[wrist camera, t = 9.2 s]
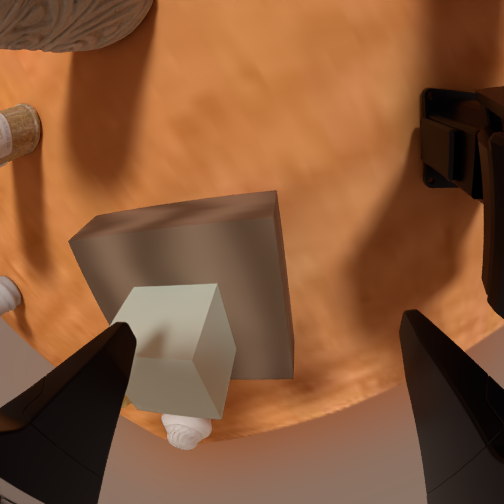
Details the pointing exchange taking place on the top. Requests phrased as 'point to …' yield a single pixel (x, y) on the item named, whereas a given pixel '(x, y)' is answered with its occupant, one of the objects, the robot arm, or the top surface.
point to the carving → (68, 23)
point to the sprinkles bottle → (18, 132)
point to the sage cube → (179, 350)
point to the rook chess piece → (8, 295)
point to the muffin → (186, 430)
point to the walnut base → (202, 268)
